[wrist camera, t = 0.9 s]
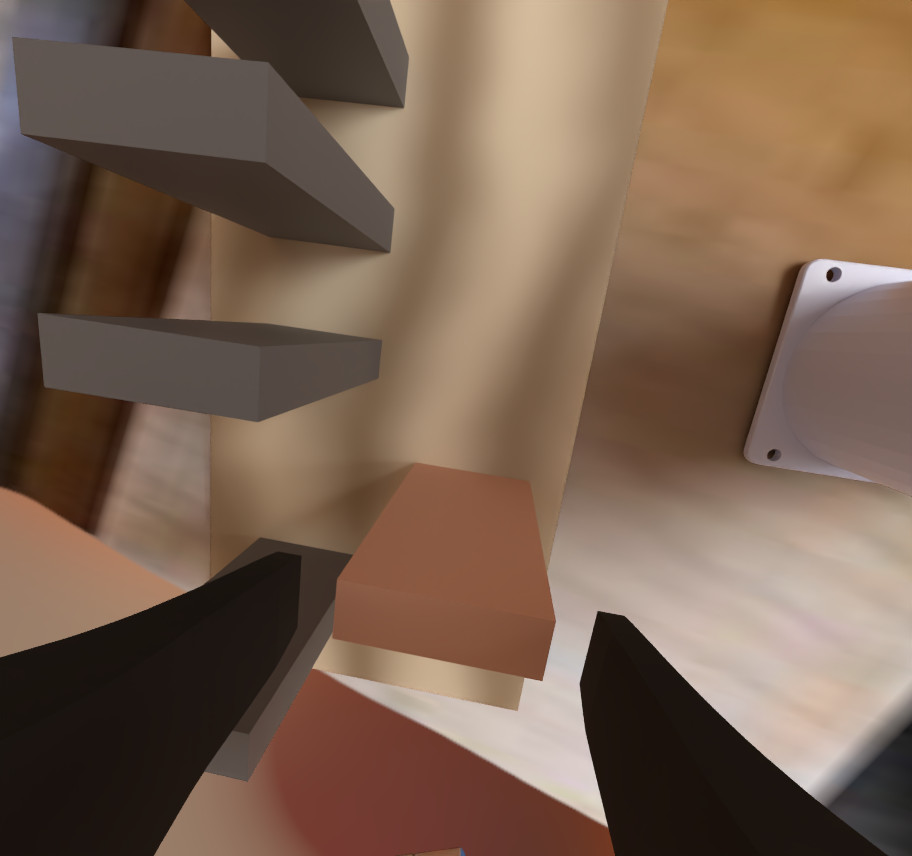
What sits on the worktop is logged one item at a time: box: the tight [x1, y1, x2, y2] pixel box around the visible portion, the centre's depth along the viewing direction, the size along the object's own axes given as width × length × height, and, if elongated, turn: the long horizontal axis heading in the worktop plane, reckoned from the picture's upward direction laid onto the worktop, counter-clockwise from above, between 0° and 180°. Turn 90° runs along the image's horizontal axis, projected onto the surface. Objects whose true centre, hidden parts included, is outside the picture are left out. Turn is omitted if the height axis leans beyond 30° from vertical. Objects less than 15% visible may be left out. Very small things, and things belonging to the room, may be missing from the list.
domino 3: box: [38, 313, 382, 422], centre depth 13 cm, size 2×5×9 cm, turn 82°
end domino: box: [204, 537, 353, 782], centre depth 16 cm, size 2×5×9 cm, turn 82°
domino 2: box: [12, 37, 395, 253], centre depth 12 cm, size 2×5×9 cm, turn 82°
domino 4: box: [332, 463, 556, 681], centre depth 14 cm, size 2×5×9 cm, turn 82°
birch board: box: [211, 0, 668, 711], centre depth 18 cm, size 16×30×1 cm, turn 172°
